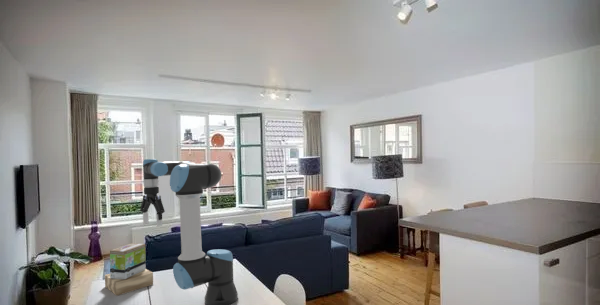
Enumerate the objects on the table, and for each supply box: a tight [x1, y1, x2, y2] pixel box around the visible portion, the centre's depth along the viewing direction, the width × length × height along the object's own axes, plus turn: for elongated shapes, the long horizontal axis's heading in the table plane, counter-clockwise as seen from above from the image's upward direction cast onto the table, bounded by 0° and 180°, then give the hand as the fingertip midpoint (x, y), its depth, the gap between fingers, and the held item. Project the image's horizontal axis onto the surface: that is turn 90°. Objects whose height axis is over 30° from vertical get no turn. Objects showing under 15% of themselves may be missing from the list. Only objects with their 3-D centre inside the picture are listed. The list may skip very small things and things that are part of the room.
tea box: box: [109, 242, 147, 279], centre depth 172 cm, size 15×10×15 cm
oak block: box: [104, 268, 154, 297], centre depth 173 cm, size 18×18×7 cm
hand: (152, 225), depth 177 cm, fingers open, 13 cm apart
